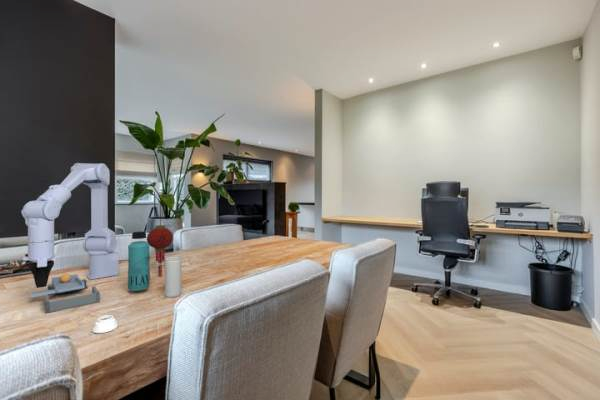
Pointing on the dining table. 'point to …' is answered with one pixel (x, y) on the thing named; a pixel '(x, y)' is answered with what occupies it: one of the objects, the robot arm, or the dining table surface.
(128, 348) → the dining table surface
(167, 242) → the lantern
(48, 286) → the stand
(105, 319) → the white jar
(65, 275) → the ball
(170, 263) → the beverage can
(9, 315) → the dining table surface
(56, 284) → the blue-grey piece
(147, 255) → the beverage bottle
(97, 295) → the dish
